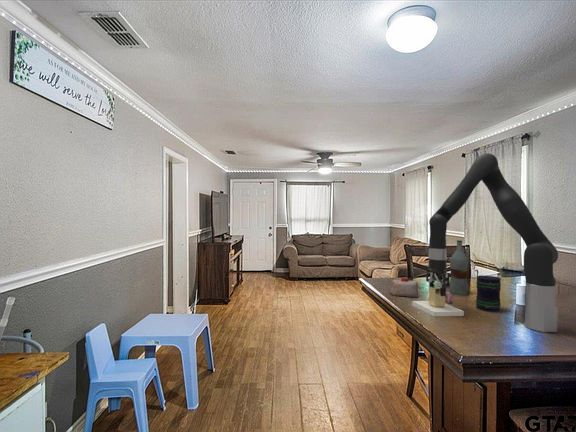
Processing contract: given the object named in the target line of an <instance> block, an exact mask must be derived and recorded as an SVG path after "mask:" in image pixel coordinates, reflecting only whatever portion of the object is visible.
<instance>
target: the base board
mask: <svg viewBox="0 0 576 432" xmlns="http://www.w3.org/2000/svg"><path fill="white" fill-rule="evenodd" d="M411 305H412V307H415V308H416V309H418V310H420V311H422V312H424V313H426V314H428V315H430V316H432V317H434V318H435V317H464V315H465V311H464V310H461V309H460V308H457V307H455V306H453V305H450V304H448V303H447V302H445V306H441V307H435V306H432V305H430V304H429V300H413V301H412V302H411Z"/></svg>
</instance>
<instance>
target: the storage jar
mask: <svg viewBox="0 0 576 432" xmlns="http://www.w3.org/2000/svg"><path fill="white" fill-rule="evenodd" d="M501 280H502V279H501V277H497V276H493V275H477V276H476V282H475V283H476V296H475V299H476V300H475V303H476V304H475V305H476V307H475V308H476V309H477V310H479V311H482V312H486V313H487V312H488V313H500V311H501V306H502V305H501V296H500V295H501V287H502V285H501V284H502V282H501Z"/></svg>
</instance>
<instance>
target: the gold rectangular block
mask: <svg viewBox="0 0 576 432" xmlns="http://www.w3.org/2000/svg"><path fill="white" fill-rule="evenodd" d="M440 288H441V287H440V285H439V286H435V285H434V286H429V285H428V301H429V304H430V305H432V306H435V307H441V306H445V303H446V302H445V296H440Z"/></svg>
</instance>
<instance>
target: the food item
mask: <svg viewBox="0 0 576 432" xmlns="http://www.w3.org/2000/svg"><path fill="white" fill-rule="evenodd" d="M418 285H419V282H418V281H417V280H409V279H408V278H407V277H406V276H404V277H401V278H400V279H393V280H392V281H391V288H390V289H391V293H392V295H394V296H395V297H403V296H406V297H407V298H419V292H418V288H419V286H418ZM394 296H393V297H394ZM406 297H405V298H406Z"/></svg>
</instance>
